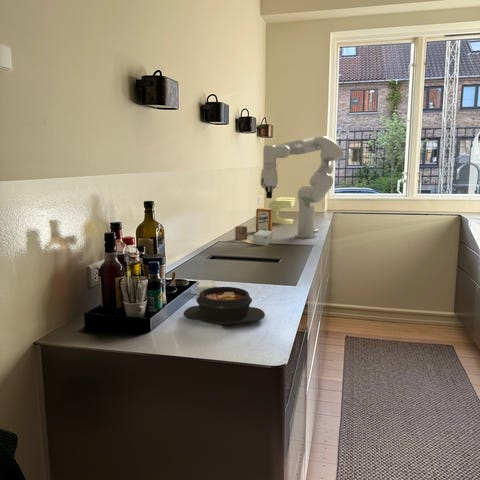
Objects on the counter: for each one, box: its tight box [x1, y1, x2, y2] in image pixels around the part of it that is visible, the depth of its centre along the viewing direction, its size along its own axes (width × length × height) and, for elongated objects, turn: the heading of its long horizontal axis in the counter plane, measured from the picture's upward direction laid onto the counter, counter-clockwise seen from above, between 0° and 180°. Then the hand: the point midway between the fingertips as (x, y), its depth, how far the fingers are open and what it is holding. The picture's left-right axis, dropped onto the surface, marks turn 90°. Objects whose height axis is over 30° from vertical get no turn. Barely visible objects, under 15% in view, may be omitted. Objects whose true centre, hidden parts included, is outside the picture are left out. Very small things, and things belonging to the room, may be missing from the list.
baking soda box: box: [255, 207, 273, 233], centre depth 304 cm, size 10×6×16 cm
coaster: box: [196, 279, 218, 296], centre depth 170 cm, size 10×10×4 cm
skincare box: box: [252, 230, 274, 247], centre depth 267 cm, size 8×6×15 cm
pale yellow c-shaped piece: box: [268, 196, 296, 225], centre depth 352 cm, size 30×16×18 cm, turn 167°
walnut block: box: [234, 225, 248, 241], centre depth 277 cm, size 5×5×8 cm
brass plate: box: [238, 238, 254, 245], centre depth 272 cm, size 12×12×1 cm
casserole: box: [182, 286, 266, 326], centre depth 142 cm, size 25×19×8 cm
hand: (269, 198), depth 274 cm, fingers closed
